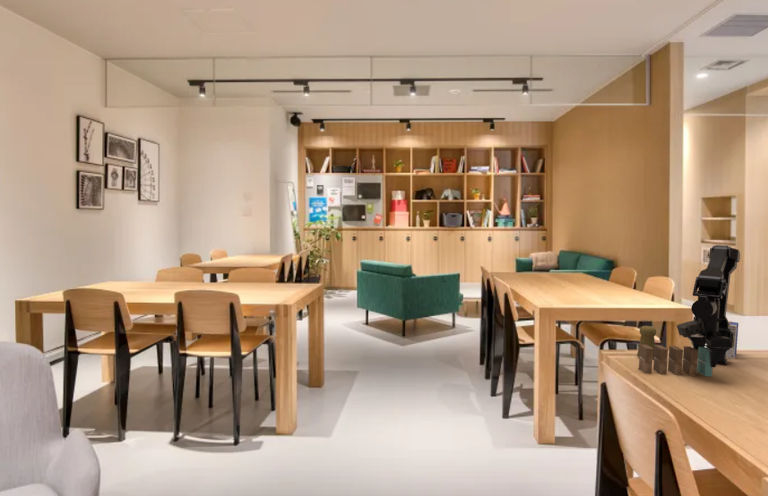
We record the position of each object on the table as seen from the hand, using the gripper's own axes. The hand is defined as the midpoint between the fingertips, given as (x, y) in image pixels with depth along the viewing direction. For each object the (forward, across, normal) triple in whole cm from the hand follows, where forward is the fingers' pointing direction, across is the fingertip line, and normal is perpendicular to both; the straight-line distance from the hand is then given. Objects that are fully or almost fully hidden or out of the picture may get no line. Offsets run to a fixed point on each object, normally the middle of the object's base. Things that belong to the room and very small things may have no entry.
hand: (705, 362), depth 165 cm
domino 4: (+4, 0, -4) cm, 6 cm away
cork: (+4, -17, -11) cm, 20 cm away
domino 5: (+4, 0, 0) cm, 4 cm away
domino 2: (+4, 0, -14) cm, 14 cm away
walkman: (+4, -24, +21) cm, 32 cm away
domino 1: (+4, 0, -18) cm, 18 cm away
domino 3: (+4, 0, -9) cm, 10 cm away
